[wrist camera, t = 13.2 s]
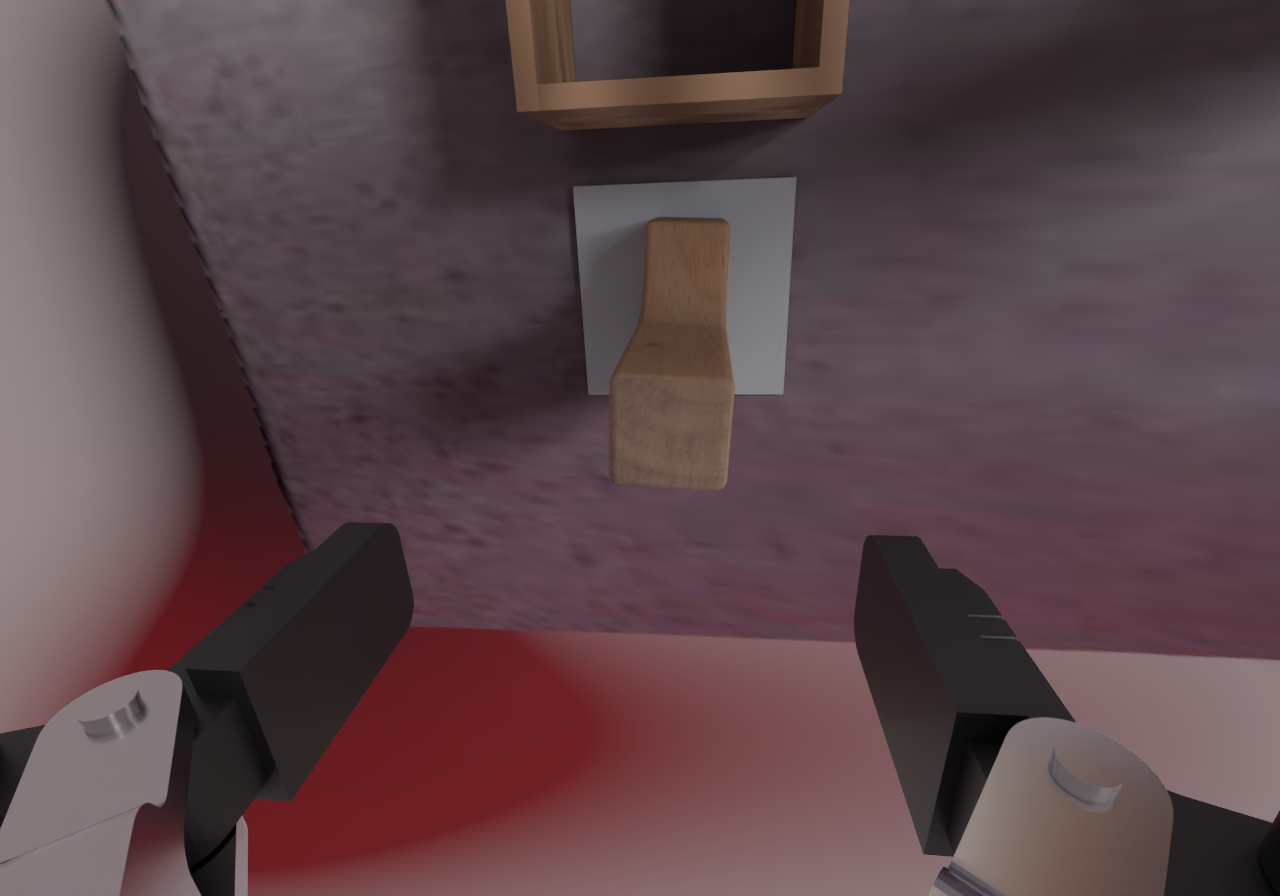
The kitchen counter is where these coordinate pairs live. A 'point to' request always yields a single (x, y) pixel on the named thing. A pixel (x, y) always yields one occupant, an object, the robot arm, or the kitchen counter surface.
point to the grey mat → (753, 281)
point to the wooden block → (676, 364)
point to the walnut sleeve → (671, 100)
